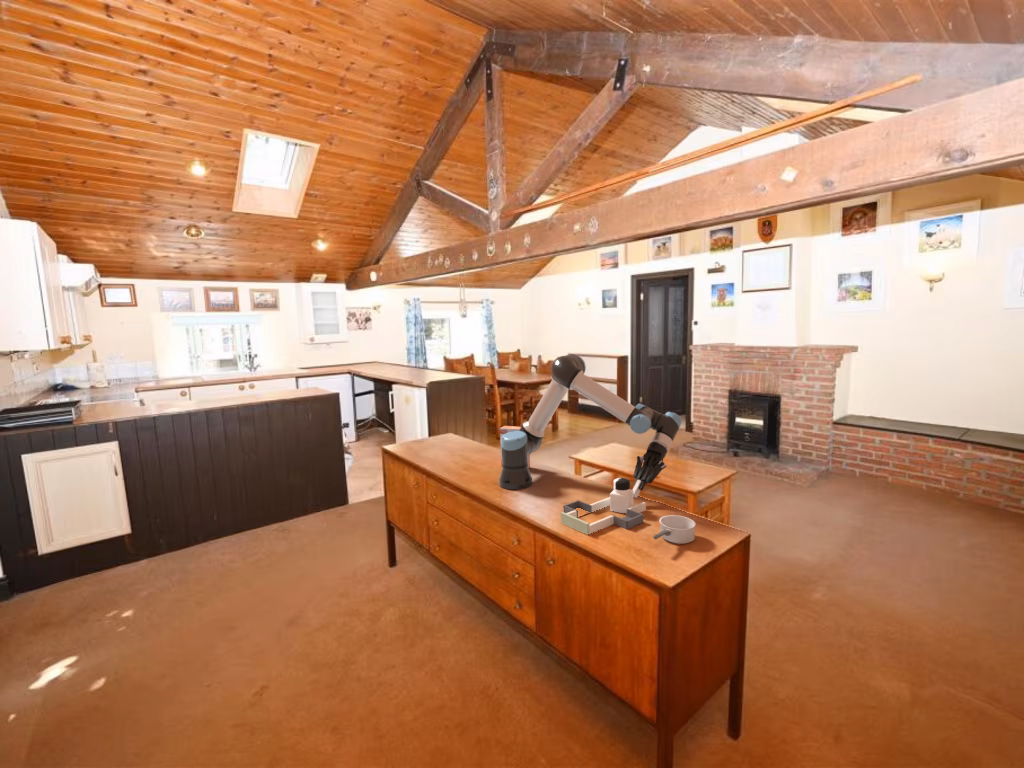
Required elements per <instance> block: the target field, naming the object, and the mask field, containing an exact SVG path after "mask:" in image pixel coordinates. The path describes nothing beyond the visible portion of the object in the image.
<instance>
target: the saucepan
mask: <svg viewBox="0 0 1024 768" xmlns="http://www.w3.org/2000/svg"><path fill="white" fill-rule="evenodd" d="M658 520H659V521H658V522H659V523H660V525H659V526H660V532H658V533H657V534H654V535H653V539H654V540H657V539H659V538H662V539H663V540H666V541H667V542H670V543H672V544H680V545H681V544H683V545H684V544H688V543H690V542H691V543H692V542H693V541H695V537H696V534H695V533H696V531H695V530H696V529H695V528H696V526H697V523H696V521H695V520H693V519H692V518H690V517H687V516H683V515H677V514H676V515H675V514H671V515H669V514H668V515H664V516H661V517H660V518H659V519H658Z"/></svg>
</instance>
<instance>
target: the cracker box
mask: <svg viewBox="0 0 1024 768" xmlns="http://www.w3.org/2000/svg"><path fill="white" fill-rule="evenodd" d="M520 428H521V426H512V425H504V426H502V427H499V435H500V436H499V437H500V441H499V442H500V443H501V442H502V436H503V435H504V434H506V433H508V432H512V431H519V430H520ZM530 456H531V454H529V455H528V469H529V468H530V467H531V457H530ZM500 460H501V461H500V465H501V467H502V446H501V445H500Z"/></svg>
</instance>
